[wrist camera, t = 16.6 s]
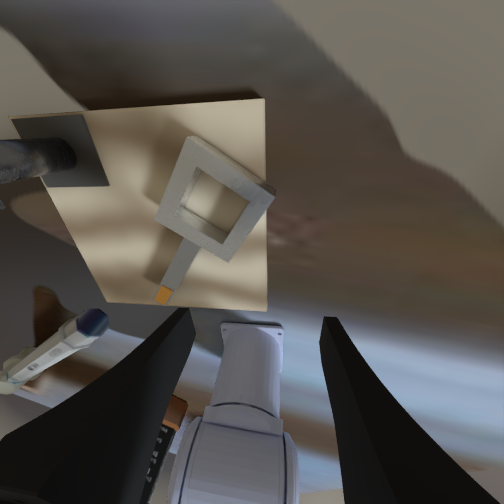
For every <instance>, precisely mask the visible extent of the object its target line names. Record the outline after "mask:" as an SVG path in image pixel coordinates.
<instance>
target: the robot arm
mask: <svg viewBox="0 0 504 504" xmlns="http://www.w3.org/2000/svg"><path fill="white" fill-rule="evenodd" d="M220 328H221V334H222V339H223V345H224V352H223V356H222V360H221V363H220V367H219V371H218V375H217V379H216V383H215V387H214V391H213V394H212V398H211V402H210V406H206V407H205V411H204V415H203V417H196V418H195V419H194V420H193V421H192V422H191V423H190V424H189V425H188V427H187V428H186V430H185V433H184V435H183V437H182V440H181V443H180V446H179V449H178V452H177V455H176V458H175V462H174V466H173V469H172V474H171V478H170V483H169V488H168V495H167V504H299V468H298V457H297V451H296V446H295V444H294V442H293V440H292V439H291V436H290V435H289V433H286V432H283V420H282V419H279V384H280V373H281V372H282V358H283V336H284V328H283V327H281V326H269V325H254V324H239V323H221V326H220ZM195 334H196V332H195V328H194V325H193V321H192V317H191V314H190V310H189V308H178V309H177V310H176V311H175V312H174V313H173V314H172V315H171V316H170V317H169V318H168V319H167V320H166V321H165V322H164V323H163V324H162V325H161V326H159V327H158V328H157V329H156V330H155V331H154V332H153V333H152V334H151V335H150V336H149V337H148V338H147V339H146V340H145V341H143V342H142V343H141V344H140V345H139V346H138V347H137V348H136V349H134V350H133V351H132V352H131V353H130V354H129V355H127V356H126V357H125V358H124V359H123V360H121V361H120V362H119V363H118V364H116V365H115V366H114V367H113V368H111V369H110V370H109V371H107V372H106V373H105V374H103V375H102V376H101V377H99V378H98V379H96V380H95V381H93V382H92V383H90V384H89V385H88V386H86V387H85V388H83V389H82V390H80V391H79V392H77V393H76V394H74V395H73V396H71V397H70V398H68V399H67V400H65V401H63V402H62V403H60V404H59V405H57V406H55V407H54V408H52V409H51V410H49V411H47V412H45V413H44V414H42V415H40V416H39V417H37V418H35V419H33V420H32V421H30V422H28V423H26V424H25V425H23V426H21V427H19V428H17V429H16V430H14V431H12V432H10V433H9V434H7V435H5V436H4V437H3V438H2V439H1V441H0V504H139V503H140V499H141V495H142V492H143V488H144V484H145V480H146V476H147V473H148V469H149V466H150V462H151V459H152V455H153V452H154V448H155V445H156V442H157V438H158V435H159V432H160V429H161V425H162V422H163V419H164V416H165V413H166V410H167V407H168V404H169V402H170V399H171V396H172V394H173V392H174V389H175V387H176V385H177V382H178V380H179V378H180V375H181V373H182V371H183V368H184V366H185V363H186V361H187V359H188V356H189V354H190V351H191V348H192V345H193V341H194V338H195ZM319 345H320V354H321V362H322V367H323V372H324V376H325V381H326V386H327V390H328V395H329V399H330V404H331V408H332V413H333V418H334V423H335V430H336V437H337V445H338V452H339V460H340V468H341V476H342V484H343V493H344V501H345V504H500V503H499V502H498V501H497V500H496V499H495V498H493V497H492V496H491V495H490V494H489V493H488V492H487V491H486V490H485V489H484V488H482V487H481V486H480V485H479V484H478V483H477V482H476V481H475V480H474V479H473V478H472V477H471V476H470V475H469V474H467V473H466V472H465V471H464V470H463V469H462V468H461V467H460V466H459V465H458V464H457V463H456V462H455V461H454V460H453V459H452V458H451V457H450V456H449V455H448V454H447V453H446V452H445V451H444V450H443V449H442V448H441V447H440V446H439V445H438V444H437V443H436V442H435V441H434V440H433V439H432V438H431V437H430V436H429V435H428V434H427V433H426V432H425V431H424V430H423V429H422V428H421V427H420V426H419V425H418V424H417V422H416V421H415V420H414V419H413V418H412V417H411V416H410V415H409V414H408V413H407V412H406V410H405V409H404V408H403V407H402V406H401V405H400V404H399V403H398V401H397V400H396V399H395V398H394V397H393V396H392V394H391V393H390V392H389V391H388V390H387V388H386V387H385V386H384V385H383V383H382V382H381V381H380V380H379V378H378V377H377V376H376V374H375V373H374V372H373V371H372V369H371V368H370V367H369V365H368V364H367V362H366V361H365V360H364V358H363V357H362V355H361V354H360V353H359V351H358V350H357V348H356V347H355V345H354V344H353V342H352V341H351V339H350V338H349V336H348V334H347V333H346V331H345V330H344V328H343V326H342V325H341V323H340V321H339V319H338V318H337V317H325V316H324V319H323V324H322V330H321V336H320V341H319Z"/></svg>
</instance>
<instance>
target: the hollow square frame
mask: <svg viewBox="0 0 504 504" xmlns="http://www.w3.org/2000/svg"><path fill="white" fill-rule="evenodd" d="M202 170H203V171H204V172H206V173H207V174H209V175H210V176H212V177H213V178H215V179H216V180H218V181H219V182H221V183H222V184H224V185H225V186H227V187H228V188H230V189H231V190H233V191H234V192H236V193H238V194H239V195H241V196H242V197H244V198H245V199H247V200H248V201H249V202H248V203H247V205H246V207H245V208H244V210H243V211H242V213H241V214H240V216H239V217H238V219H237V221H236V222H235V224H234V225H233V227H232V228H231V230H230V231H229V233H228V234H226V233H225V232H223V231H222V230H220V229H218V228H217V227H215V226H213V225H212V224H210V223H208V222H207V221H205V220H204V219H202V218H200V217H199V216H197V215H195V214H194V213H192V212H190V211H189V210H187V209H186V208H184V207H185V205H186V203H187V200H188V198H189V196H190V194H191V192H192V190H193V188H194V186H195V183H196V181H197V179H198V177H199V175H200V173H201V171H202ZM275 196H276V190H275V189H274V188H273V187H271V186H270V185H268V184H267V183H265V182H264V181H262V180H261V179H260V178H258V177H257V176H255V175H254V174H252V173H251V172H249V171H248V170H247V169H245V168H244V167H242V166H241V165H239V164H238V163H236V162H235V161H233V160H232V159H231V158H229V157H228V156H226V155H225V154H223V153H222V152H220V151H219V150H218V149H216V148H215V147H213V146H212V145H210V144H209V143H207V142H206V141H205V140H203V139H202V138H200V137H199V136H189V137H186V140H185V142H184V145H183V147H182V150H181V153H180V155H179V158H178V160H177V163H176V165H175V168H174V170H173V173H172V175H171V178H170V180H169V183H168V185H167V188H166V191H165V193H164V196H163V198H162V201H161V203H160V206H159V208H158V211H157V213H156V216H155V218H154V220H155V221H157V222H159V223H160V224H162V225H164V226H166V227H167V228H169V229H171V230H172V231H174V232H176V233H178V234H179V235H181V236H183V237H184V238H183V240H182V242H181V244H180V246H179V248H178V250H177V252H176V254H175V256H174V258H173V260H172V262H171V263H170V265H169V267H168V269H167V271H166V273H165V275H164V277H163V279H162V281H161V283H160V285H159V287H158V289H157V291H156V293H155V295H154V297H153V299H152V300H153V301H155V302H157V303H159V304H161V305H163V306H165V307H166V306H167V304H168V303H169V301H170V300H171V298H172V297H173V295H174V293H175V292H176V290H177V288H178V287H179V285H180V283H181V281H182V280H183V278H184V276H185V275H186V273H187V271H188V270H189V268H190V266H191V264H192V263H193V261H194V259H195V258H196V256H197V254H198V253H199V251H200V249H201V247H202V248H203V249H205V250H207V251H208V252H210V253H212V254H214V255H215V256H217V257H219V258H220V259H222V260H224V261H226V262H227V263H229V262H230V260H231V259H232V257H233V256H234V255H235V253H236V252H237V250H238V249H239V248H240V246H241V245H242V243H243V242H244V241H245V239H246V238H247V236H248V235H249V234H250V232H251V231H252V229H253V228H254V227H255V225H256V224H257V222H258V221H259V220H260V218H261V217H262V215H263V214H264V213H265V211H266V210H267V208H268V207H269V206H270V204H271V203H272V201H273V200H274V199H275Z"/></svg>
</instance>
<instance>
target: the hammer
mask: <svg viewBox="0 0 504 504" xmlns="http://www.w3.org/2000/svg"><path fill="white" fill-rule="evenodd" d="M76 164H77V158H76V155H75V152H74V150H73V149H72V147H71V146H70V145H69V144H68V143H67V142H66V141H64V140H62V139H60V138H57V137H50V138H30V139H9V140H0V184H3V183H8V182H13V181H17V180H22V179H27V178H32V177H37V176H42V175H47V174H51V173H56V172H61V171H66V170H71V169H73V168H75V166H76ZM1 209H5V206H4V204H3V203H2V201H1V200H0V210H1Z"/></svg>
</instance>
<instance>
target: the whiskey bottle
mask: <svg viewBox="0 0 504 504" xmlns="http://www.w3.org/2000/svg"><path fill="white" fill-rule="evenodd" d="M187 407H188V404H187V402H185V401H183V400H181V399H179V398H177V397H175V396H173V395H172V396H171V399H170V402H169V404H168V407H167V410H166V413H165V416H164V419H163V422H162V425H161V429H160V432H159V435H158V438H157V442H156V445H155V448H154V452H153V455H152V459H151V462H150V466H149V469H148V473H147V476H146V480H145V484H144V488H143V492H142V495H141V499H140V503H139V504H149V503H150V501H151V498H152V495H153V493H154V490H155V487H156V484H157V482H158V479H159V476H160V474H161V471H162V468H163V465H164V463H165V460H166V457H167V455H168V452H169V449H170V446H171V444H172V441H173V438H174V436H175V433H176V431H177V430H179V429H180V426H181V423H182V421H183V418H184V415H185V413H186V410H187Z"/></svg>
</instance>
